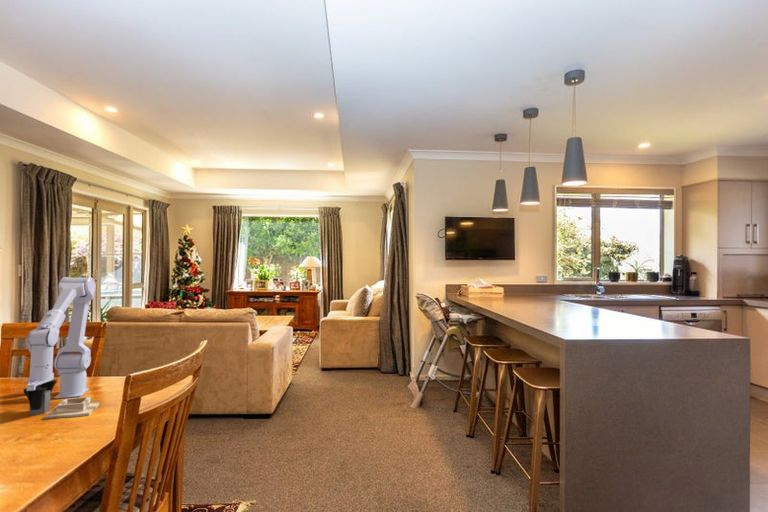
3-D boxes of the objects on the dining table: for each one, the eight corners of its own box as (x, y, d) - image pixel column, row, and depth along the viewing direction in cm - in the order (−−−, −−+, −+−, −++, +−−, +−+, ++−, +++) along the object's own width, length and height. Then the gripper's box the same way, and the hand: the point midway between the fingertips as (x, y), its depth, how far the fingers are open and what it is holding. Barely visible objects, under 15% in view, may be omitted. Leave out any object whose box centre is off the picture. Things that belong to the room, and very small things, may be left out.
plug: (34, 411, 133) (35, 391, 133) (49, 409, 134) (50, 390, 134) (29, 415, 129) (30, 395, 129) (44, 413, 130) (45, 393, 130)
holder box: (59, 406, 137) (59, 397, 137) (100, 403, 141) (101, 394, 141) (43, 419, 125) (44, 409, 125) (89, 415, 130) (89, 405, 130)
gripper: (36, 360, 137) (35, 400, 137) (15, 371, 124) (13, 415, 123) (61, 359, 140) (60, 398, 139) (43, 369, 126) (41, 413, 126)
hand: (39, 406), depth 132 cm, fingers open, 5 cm apart
